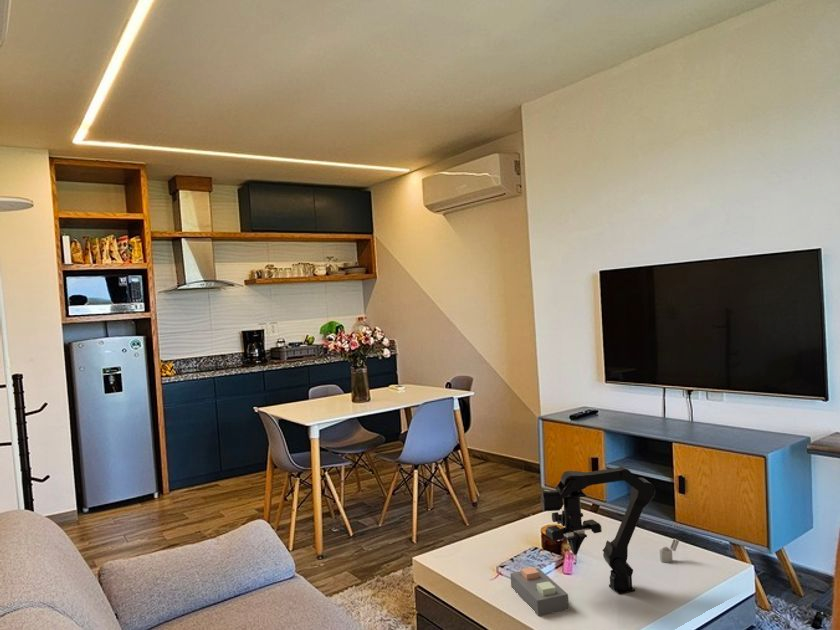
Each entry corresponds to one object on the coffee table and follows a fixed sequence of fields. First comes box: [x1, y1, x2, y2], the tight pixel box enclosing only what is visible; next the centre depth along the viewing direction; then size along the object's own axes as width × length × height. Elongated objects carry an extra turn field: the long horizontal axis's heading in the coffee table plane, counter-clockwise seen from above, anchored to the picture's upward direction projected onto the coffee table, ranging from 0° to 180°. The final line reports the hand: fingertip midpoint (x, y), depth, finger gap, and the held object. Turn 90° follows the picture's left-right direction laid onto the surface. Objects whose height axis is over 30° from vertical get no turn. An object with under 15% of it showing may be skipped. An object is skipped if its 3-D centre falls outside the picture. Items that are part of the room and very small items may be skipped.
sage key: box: [536, 581, 556, 596], centre depth 197 cm, size 5×5×6 cm
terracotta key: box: [520, 566, 539, 581], centre depth 209 cm, size 5×5×6 cm
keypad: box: [509, 567, 570, 617], centre depth 203 cm, size 11×21×5 cm, turn 15°
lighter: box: [659, 538, 680, 563], centre depth 225 cm, size 7×2×8 cm, turn 96°
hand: (574, 554), depth 205 cm, fingers closed
